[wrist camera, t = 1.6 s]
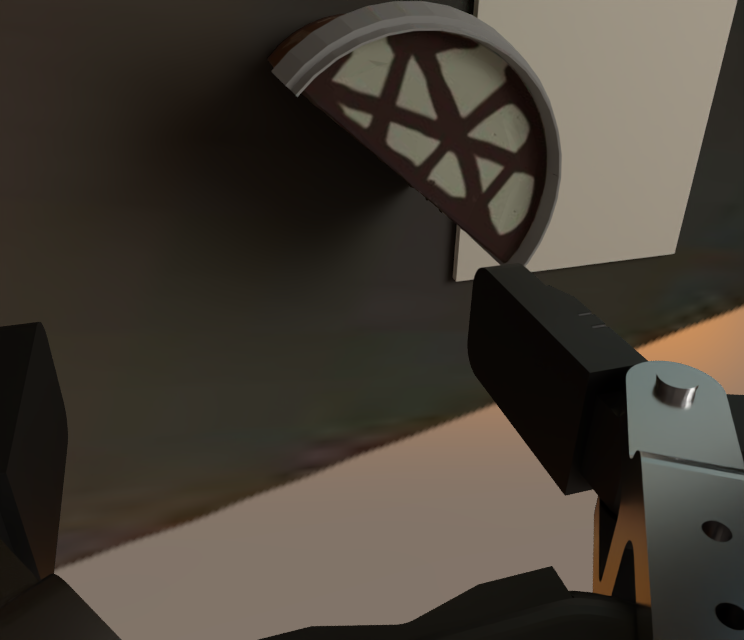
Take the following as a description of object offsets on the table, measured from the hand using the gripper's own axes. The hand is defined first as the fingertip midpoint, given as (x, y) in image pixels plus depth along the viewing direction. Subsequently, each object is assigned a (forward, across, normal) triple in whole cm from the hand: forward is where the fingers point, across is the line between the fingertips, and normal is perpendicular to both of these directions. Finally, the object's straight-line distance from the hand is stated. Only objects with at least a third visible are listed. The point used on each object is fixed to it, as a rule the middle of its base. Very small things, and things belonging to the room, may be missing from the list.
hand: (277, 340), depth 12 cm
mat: (+22, -20, 0) cm, 30 cm away
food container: (+22, -9, 0) cm, 24 cm away
